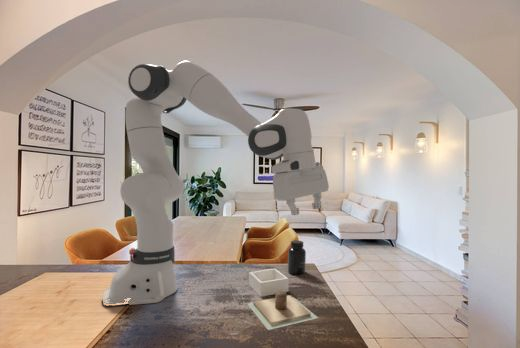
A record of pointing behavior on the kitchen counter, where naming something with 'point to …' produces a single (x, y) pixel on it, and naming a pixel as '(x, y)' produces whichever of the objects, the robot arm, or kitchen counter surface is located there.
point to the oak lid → (281, 309)
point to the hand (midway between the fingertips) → (306, 211)
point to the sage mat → (280, 323)
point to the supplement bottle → (296, 258)
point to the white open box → (268, 282)
